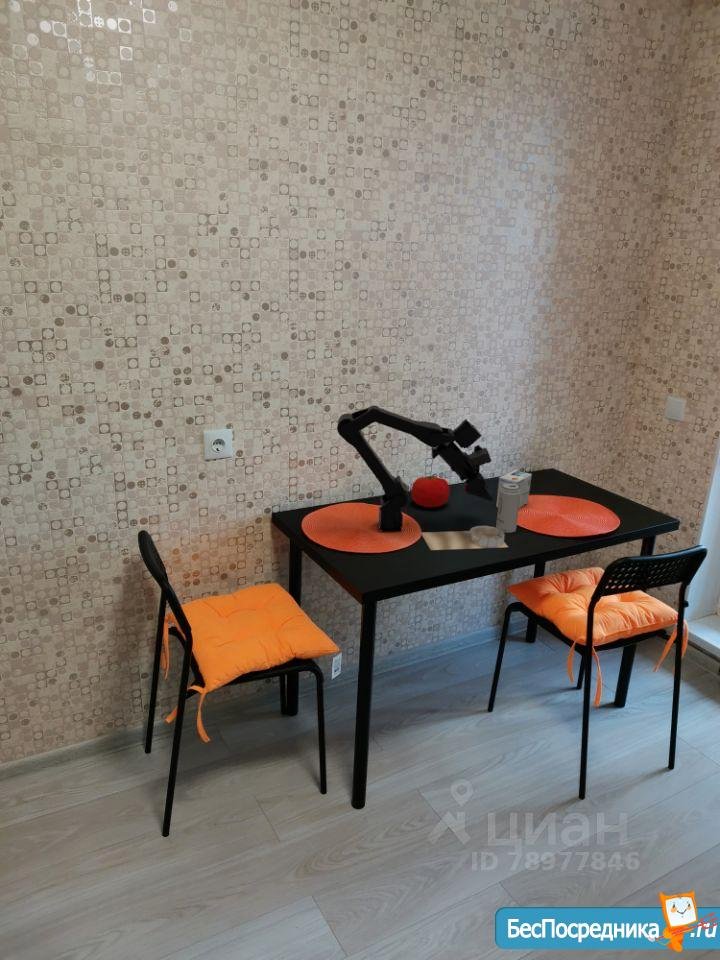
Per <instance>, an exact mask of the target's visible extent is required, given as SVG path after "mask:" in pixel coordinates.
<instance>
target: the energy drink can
mask: <svg viewBox="0 0 720 960" xmlns="http://www.w3.org/2000/svg"><path fill="white" fill-rule="evenodd" d="M520 493H521V492H520V490H519V486H518V485H516V484H512V483H505V484H503V487H502V488H501V489H500V496H499V505H498V507H497V516H496V522H495V523H496V524H495V528H498V529H500V530H502V531H503V533H506V534H507V533H508V534H509V533H514V532H516V531H517V524H518V517H519V509H520V508H519V501H520Z"/></svg>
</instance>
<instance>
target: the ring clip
mask: <svg viewBox="0 0 720 960" xmlns="http://www.w3.org/2000/svg"><path fill="white" fill-rule="evenodd" d="M469 531H470V532H469V540H470V542H471V543H473V544H475V545H477V546H480V547H486V548H485V549H496V548H495V547H499V546H501V545H502V544H503V542H505V532H503V531H502V530H500V529H498V528H496V526H489V525H477V526H473V527H471V528H470V529H469ZM477 535H489V536H493V537H496V538H483V537H480V536H477Z"/></svg>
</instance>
